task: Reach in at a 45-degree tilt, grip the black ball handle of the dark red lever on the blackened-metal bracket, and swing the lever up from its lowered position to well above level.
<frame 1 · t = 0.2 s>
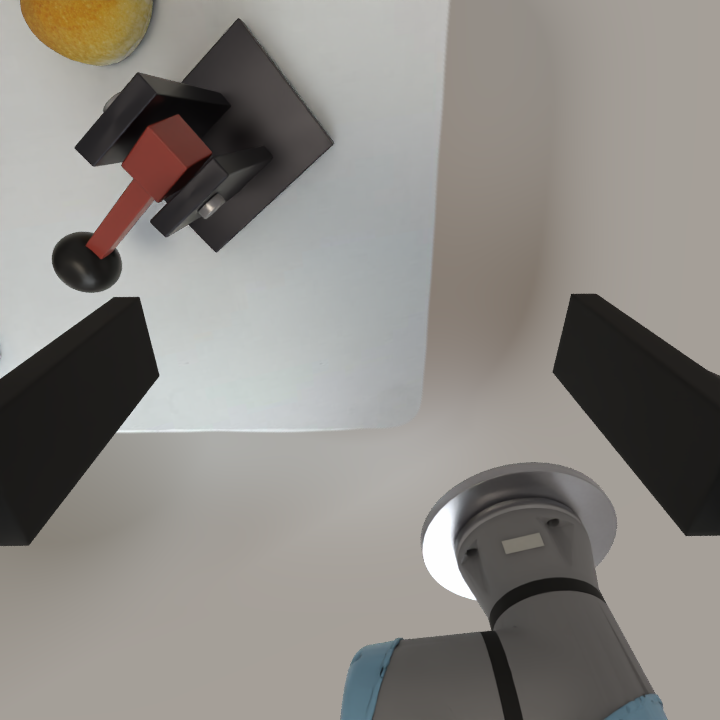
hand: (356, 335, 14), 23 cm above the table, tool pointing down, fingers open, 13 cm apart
lever: (121, 219, 24), point 10 cm above the table, hinge at -20.0°
bracket: (230, 147, 31), on the table
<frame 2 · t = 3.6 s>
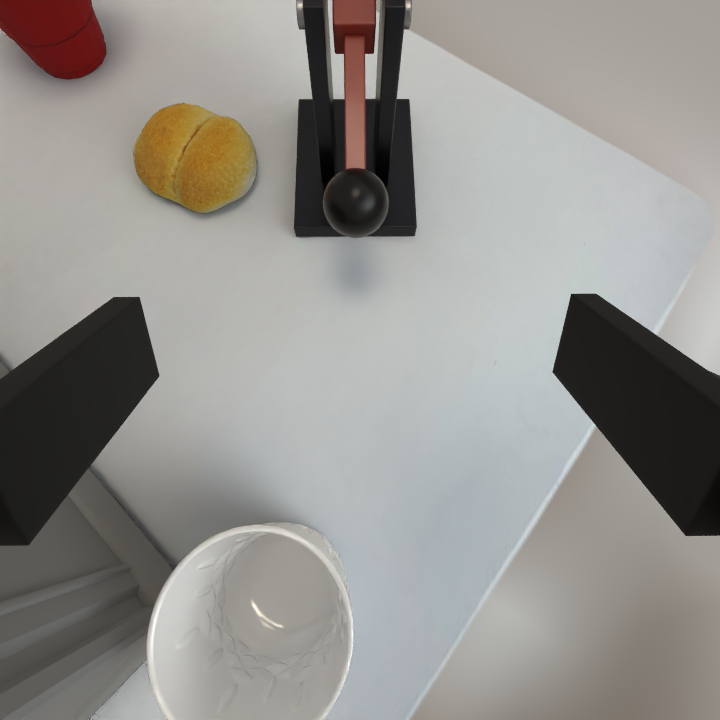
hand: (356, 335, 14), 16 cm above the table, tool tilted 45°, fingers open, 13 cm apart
plastic cup: (77, 55, 38), on the table
lever: (355, 113, 24), point 10 cm above the table, hinge at -20.0°
bracket: (354, 170, 35), on the table
white cup: (289, 582, 26), on the table
bread roll: (202, 171, 35), on the table
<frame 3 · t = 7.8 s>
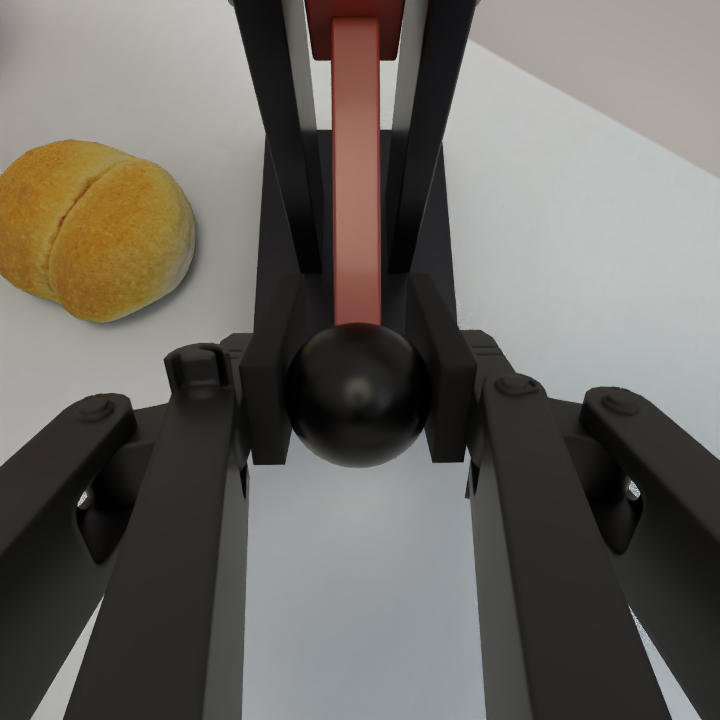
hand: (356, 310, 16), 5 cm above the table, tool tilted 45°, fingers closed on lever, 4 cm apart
lever: (356, 194, 10), point 10 cm above the table, hinge at -20.0°, touching gripper
bracket: (354, 245, 22), on the table
bread roll: (111, 246, 22), on the table
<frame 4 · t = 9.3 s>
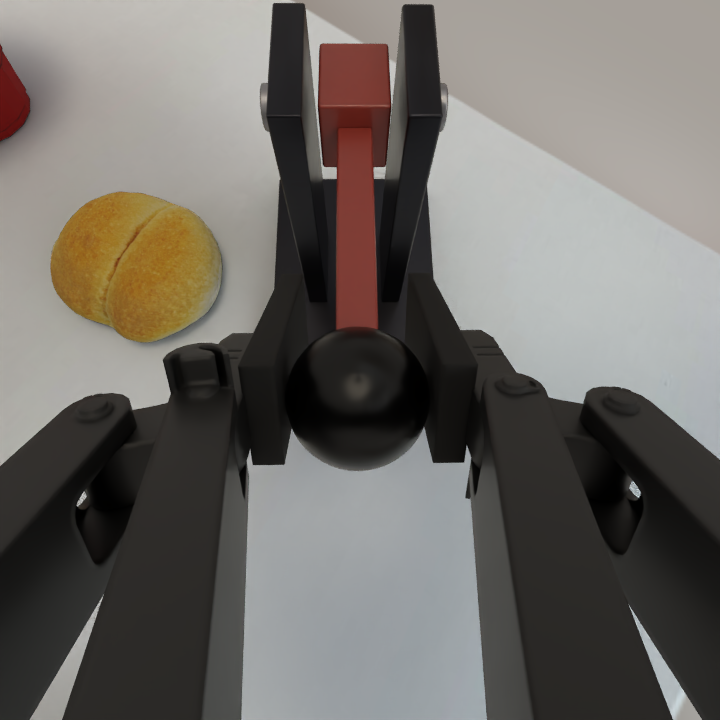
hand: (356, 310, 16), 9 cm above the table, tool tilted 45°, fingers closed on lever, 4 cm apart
lever: (355, 238, 13), point 12 cm above the table, hinge at 4.0°, touching gripper
bracket: (354, 276, 26), on the table
bread roll: (150, 277, 26), on the table
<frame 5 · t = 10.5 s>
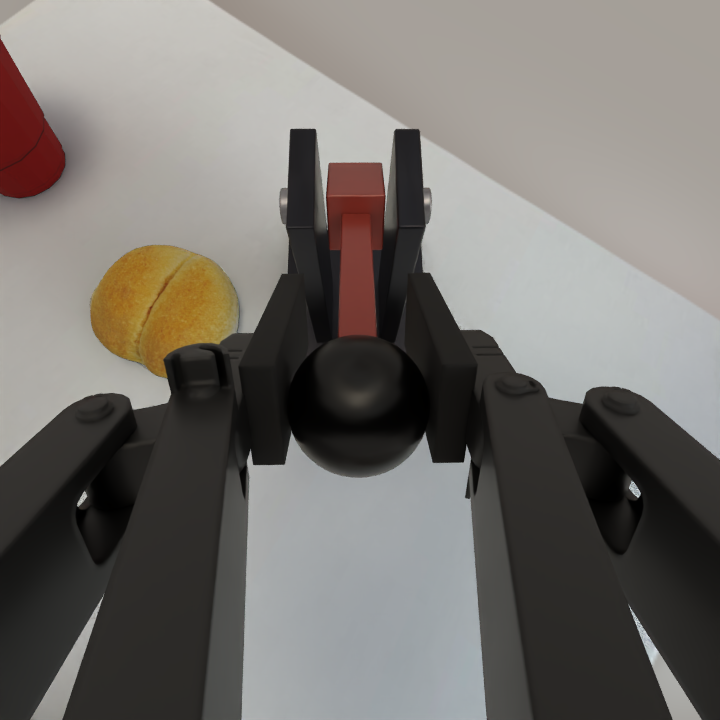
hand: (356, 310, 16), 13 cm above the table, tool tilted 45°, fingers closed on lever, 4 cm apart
plastic cup: (32, 167, 33), on the table
lever: (356, 286, 14), point 14 cm above the table, hinge at 25.3°, touching gripper
bracket: (355, 317, 29), on the table
bread roll: (175, 318, 29), on the table
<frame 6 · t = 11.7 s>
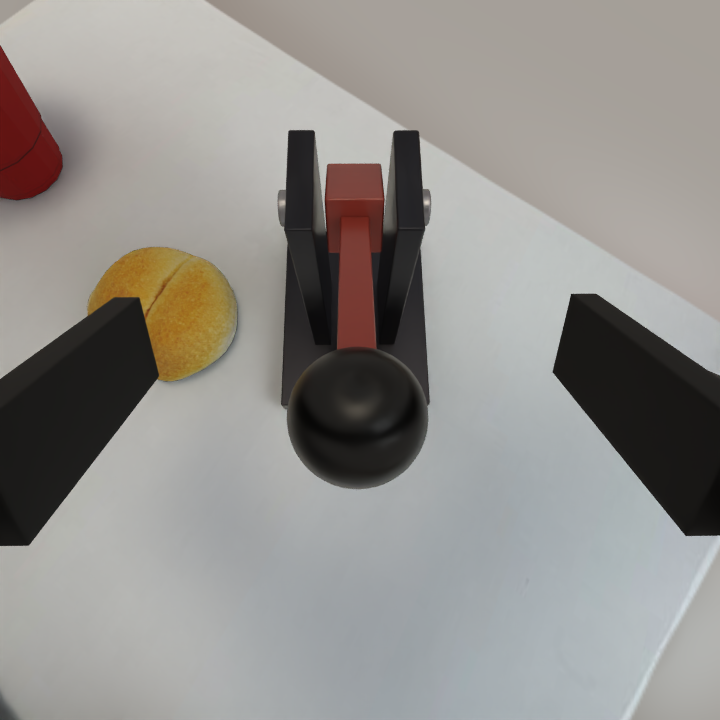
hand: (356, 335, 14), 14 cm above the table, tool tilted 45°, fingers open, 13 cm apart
plastic cup: (29, 168, 33), on the table
lever: (355, 293, 14), point 14 cm above the table, hinge at 23.6°
bracket: (354, 319, 29), on the table
bread roll: (173, 320, 29), on the table
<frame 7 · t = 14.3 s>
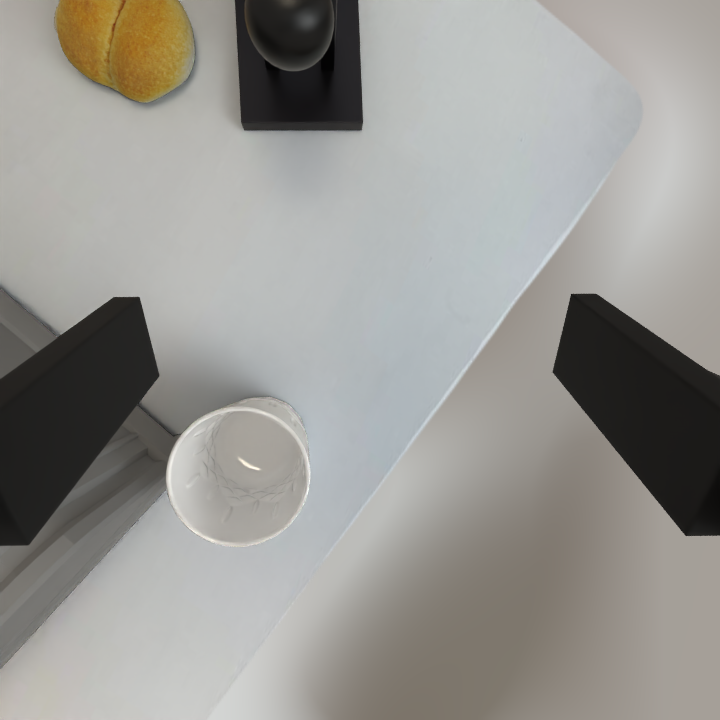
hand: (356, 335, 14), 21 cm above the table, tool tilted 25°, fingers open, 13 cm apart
bracket: (299, 50, 33), on the table
white cup: (263, 438, 34), on the table
bread roll: (135, 48, 33), on the table
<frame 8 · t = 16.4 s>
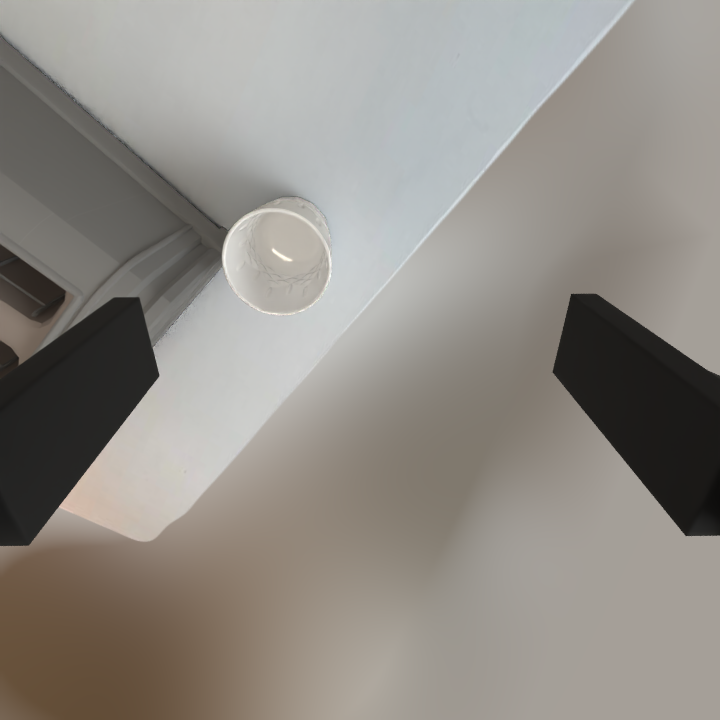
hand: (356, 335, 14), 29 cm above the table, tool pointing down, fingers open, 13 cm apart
white cup: (293, 234, 40), on the table
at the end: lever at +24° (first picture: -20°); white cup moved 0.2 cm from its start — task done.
